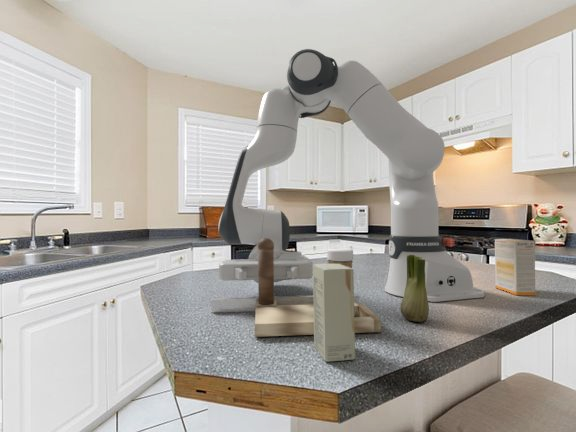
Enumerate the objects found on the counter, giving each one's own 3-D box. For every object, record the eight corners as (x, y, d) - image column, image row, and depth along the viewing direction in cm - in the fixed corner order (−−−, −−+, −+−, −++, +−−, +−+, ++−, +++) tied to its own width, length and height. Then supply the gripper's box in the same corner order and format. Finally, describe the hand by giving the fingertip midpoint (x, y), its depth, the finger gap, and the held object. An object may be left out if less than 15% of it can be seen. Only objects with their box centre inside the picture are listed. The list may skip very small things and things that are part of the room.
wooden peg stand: (355, 307, 66) (355, 236, 66) (381, 331, 52) (380, 241, 52) (256, 310, 64) (255, 237, 64) (254, 336, 50) (254, 243, 50)
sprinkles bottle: (329, 329, 54) (329, 250, 54) (325, 320, 58) (325, 247, 58) (356, 328, 54) (356, 250, 54) (350, 320, 59) (349, 247, 59)
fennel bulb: (429, 326, 55) (429, 257, 55) (399, 323, 57) (398, 256, 57) (428, 317, 60) (428, 253, 60) (401, 314, 62) (400, 252, 62)
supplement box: (536, 295, 75) (536, 240, 75) (516, 296, 75) (515, 240, 75) (512, 288, 83) (512, 238, 83) (494, 288, 84) (493, 238, 84)
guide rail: (355, 305, 68) (355, 294, 68) (358, 307, 66) (358, 295, 66) (213, 310, 65) (213, 298, 65) (212, 312, 64) (212, 300, 64)
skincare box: (356, 360, 42) (355, 268, 42) (324, 363, 41) (324, 270, 41) (340, 342, 48) (340, 262, 48) (312, 344, 48) (312, 262, 48)
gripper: (221, 252, 75) (213, 260, 62) (307, 251, 77) (317, 258, 63) (222, 279, 75) (213, 293, 62) (307, 277, 77) (317, 290, 63)
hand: (267, 275), depth 63 cm, fingers open, 8 cm apart
